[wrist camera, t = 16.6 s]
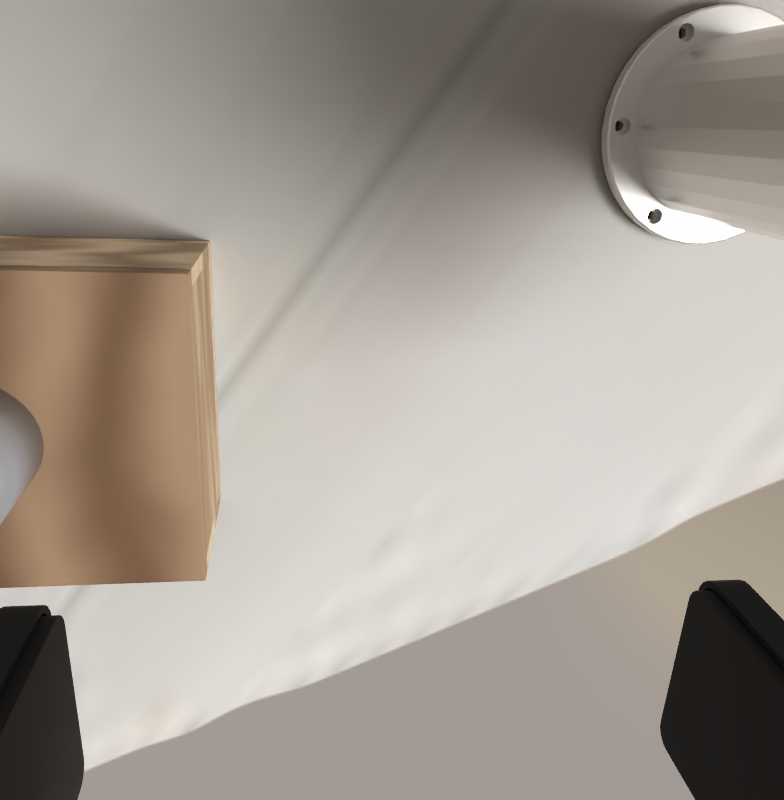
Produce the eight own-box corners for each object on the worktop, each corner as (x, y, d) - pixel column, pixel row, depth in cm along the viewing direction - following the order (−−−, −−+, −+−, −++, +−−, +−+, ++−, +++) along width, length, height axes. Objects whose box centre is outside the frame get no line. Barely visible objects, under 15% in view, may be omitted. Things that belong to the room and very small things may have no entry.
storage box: (209, 240, 40) (191, 268, 33) (221, 496, 46) (207, 568, 39) (-187, 230, 38) (-303, 258, 30) (-123, 503, 43) (-208, 582, 36)
